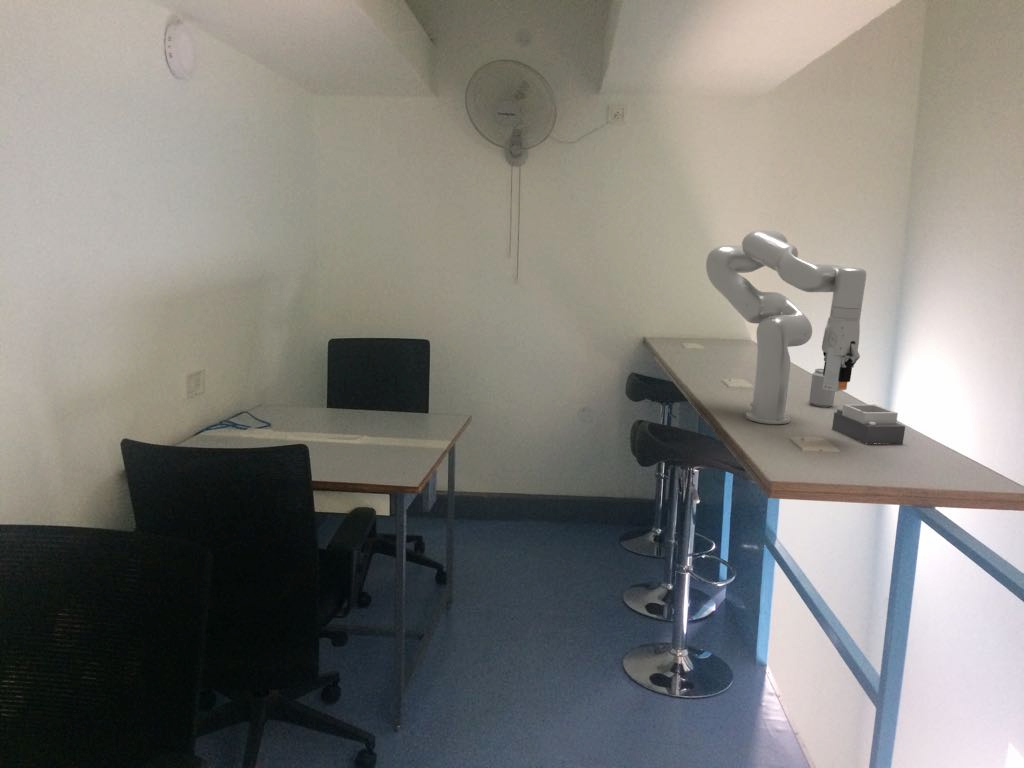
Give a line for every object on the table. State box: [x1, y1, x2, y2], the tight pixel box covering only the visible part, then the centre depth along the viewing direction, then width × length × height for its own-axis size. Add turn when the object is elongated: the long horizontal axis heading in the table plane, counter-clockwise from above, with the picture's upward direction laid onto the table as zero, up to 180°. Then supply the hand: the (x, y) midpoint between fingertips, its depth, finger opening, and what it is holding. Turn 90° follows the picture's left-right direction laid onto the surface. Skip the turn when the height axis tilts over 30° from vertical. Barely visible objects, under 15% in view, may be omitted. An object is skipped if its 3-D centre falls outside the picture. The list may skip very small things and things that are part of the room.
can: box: [808, 368, 836, 408], centre depth 248 cm, size 8×8×12 cm
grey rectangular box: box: [831, 403, 906, 445], centre depth 211 cm, size 16×11×8 cm
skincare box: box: [822, 347, 849, 393], centre depth 205 cm, size 6×4×12 cm
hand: (836, 378), depth 206 cm, fingers closed on skincare box, 6 cm apart
